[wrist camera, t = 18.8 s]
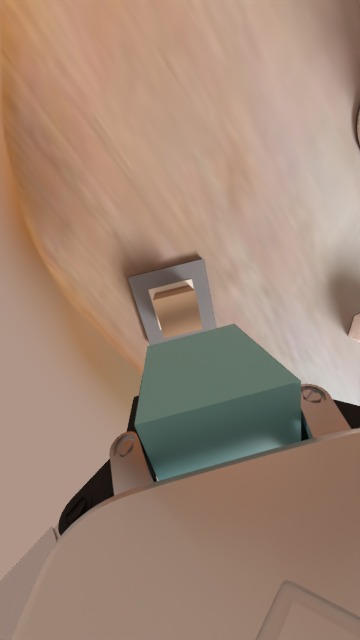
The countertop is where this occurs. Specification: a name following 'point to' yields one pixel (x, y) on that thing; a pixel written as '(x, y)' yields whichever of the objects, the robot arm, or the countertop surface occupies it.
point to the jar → (355, 328)
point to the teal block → (214, 401)
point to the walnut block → (177, 311)
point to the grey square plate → (165, 280)
